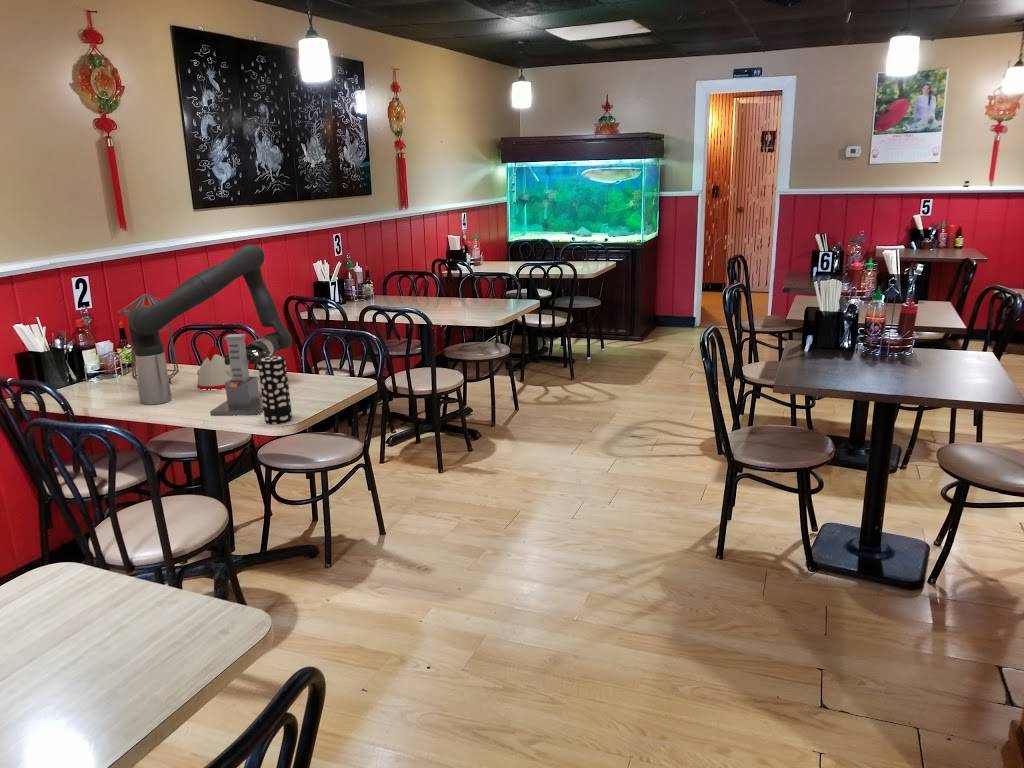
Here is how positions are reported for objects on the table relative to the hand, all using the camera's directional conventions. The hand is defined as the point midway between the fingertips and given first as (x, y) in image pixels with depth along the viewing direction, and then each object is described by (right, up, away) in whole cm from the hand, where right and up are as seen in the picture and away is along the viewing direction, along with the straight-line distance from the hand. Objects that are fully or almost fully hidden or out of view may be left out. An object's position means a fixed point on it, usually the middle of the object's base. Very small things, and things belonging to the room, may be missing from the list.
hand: (238, 362), depth 250 cm
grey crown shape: (-21, -8, +36) cm, 42 cm away
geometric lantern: (-43, -8, +38) cm, 58 cm away
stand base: (+1, -15, +4) cm, 16 cm away
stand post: (+1, -14, +4) cm, 14 cm away
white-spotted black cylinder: (+16, -19, -10) cm, 27 cm away
